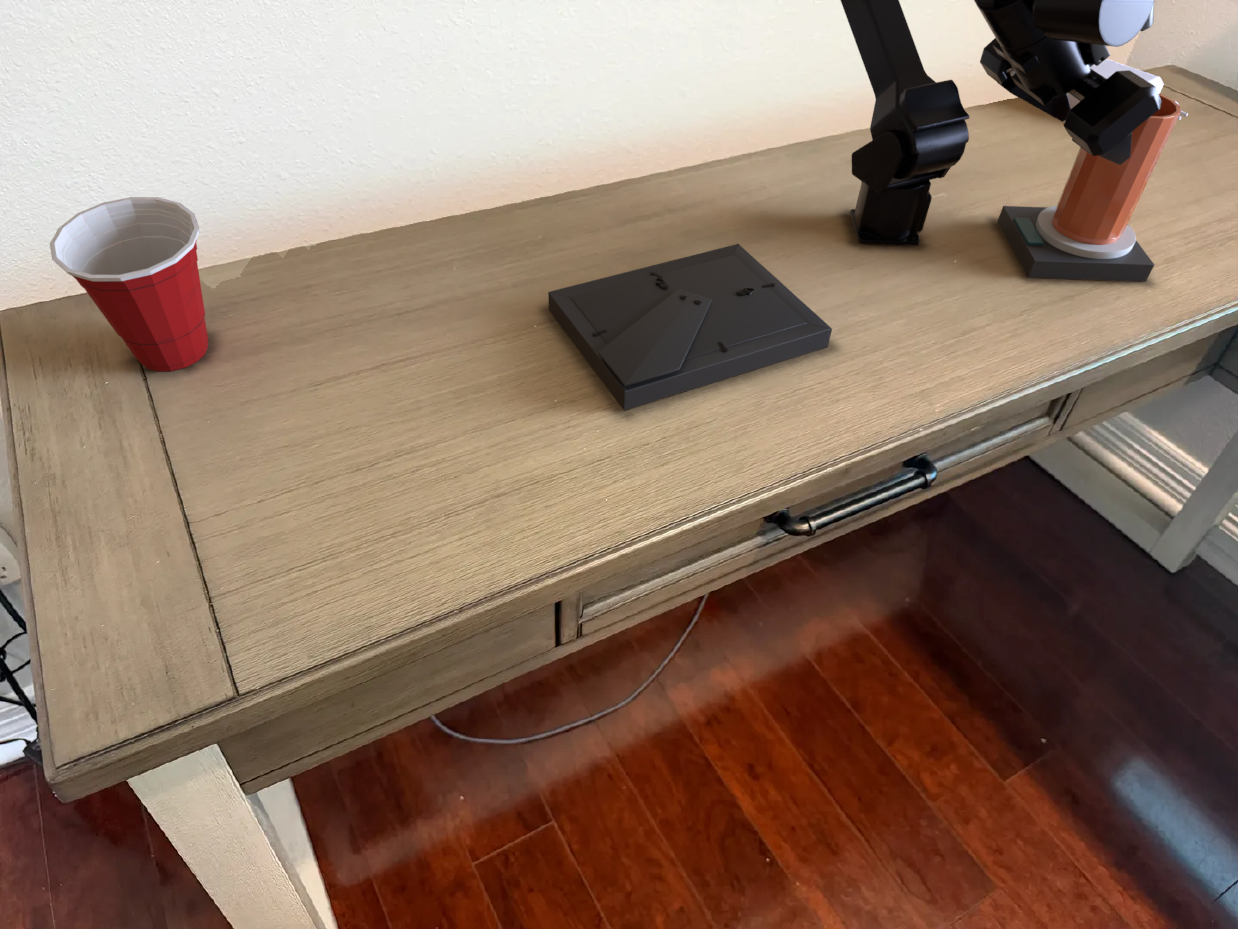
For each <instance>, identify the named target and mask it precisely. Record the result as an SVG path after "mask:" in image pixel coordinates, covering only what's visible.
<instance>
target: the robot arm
mask: <svg viewBox="0 0 1238 929" xmlns="http://www.w3.org/2000/svg"><path fill="white" fill-rule="evenodd" d="M973 1H974V3H975V5H976V7H977V9H978V10H979V13H980V14H981V15H982V17H983V19H984V20H985V22H986V24H987V25H988V27H989V29H990V32H992V34H993V36H994V38H993V39H992V40H991V41H990V42H989V43H988V44H987V45H985V46H984V48H983V49H982V53H981V56H980V60H979V63H980V65H981V66H982V68H983V70H984V72H985V73H986V74H987V76H989V78H991V79H993V80H994V81H995V82H996V83H997V85H999V86H1000V87H1002V88H1003V89H1005V90H1006V91H1007V92H1008V93H1010V94H1011V95H1013V96H1015V97H1017V98H1018V99H1020V100H1022V101H1023V102H1026V103H1027V104H1029V105H1031V106H1033V107H1034V108H1036V109H1038V110H1040V111H1041V112H1043V113H1046V114H1047V115H1049V116H1050V117H1053V118H1054V119H1056V120H1058V121H1059V122H1061V123H1062V122H1064V123H1063V125H1062V126H1063V127H1064V129H1065V131H1066V133H1067V134H1068V135H1069V137H1070V138H1071V141H1072V142H1073V143H1075V144H1076V145H1077V146H1079V147H1080V148H1082V149H1084V150H1085V151H1086V152H1088V153H1089V154H1091V155H1093V156H1100V157H1102V158H1105V159H1107V160H1109V161H1111V162H1114V163H1116V164H1118V165H1121V164H1123V163H1124V162H1125V161H1126V160H1128V159H1129V158H1130V156H1131V142H1132V131H1133V130H1135V129H1136V128H1137V127H1138V126H1140V125H1141V124H1142V123H1143V122H1145V121H1146V120H1147V119H1148V118H1150V117H1151V116H1152V115H1153V114H1155V113H1156V112H1157V111H1158V110H1159V109H1160V107H1161V103H1162V100H1161V98H1160V96H1159V94H1158V91H1157V89H1156V87H1155V86H1154V85H1152V84H1151V83H1149V82H1148V81H1146V80H1144V79H1143V78H1141V77H1140V76H1138V75H1136V74H1135V73H1133V72H1132V71H1130V70H1127V71H1116V72H1115V73H1114V74H1112V75H1111V76H1110V77H1109V78H1108V79H1106V78H1104V77H1103V76H1101V75H1100V74H1098V73H1097V72H1095V71H1094V70H1092V69H1091V68H1090V67H1091V66H1093V65H1096V66H1098V65H1099V64H1101V63H1102V62H1103V61H1104V60H1105V59H1108V58H1109V57H1110V56H1111V53H1110V51H1109V49H1108V47H1115V48H1118V47H1121V46H1122V47H1123V46H1124V45H1126V44H1128V43H1129V42H1131V41H1132V40H1133V39H1134V38H1135V37H1136V36H1137V35H1138V34H1139V33H1140V32H1145V31H1146V30H1148V29H1150V28H1151V27H1153V25H1154V22H1155V20H1154V18H1155V0H973ZM840 3H841V5H842V8H843V11H844V14H845V16H846V19H847V22H848V26H849V28H850V31H851V33H852V36H853V39H854V41H855V44H856V47H857V49H858V52H859V56H860V58H861V61H862V63H863V66H864V69H865V72H866V74H867V78H868V80H869V82H870V86H871V88H872V91H873V94H874V99H875V101H874V107H873V111H872V116H871V121H870V126H869V130H870V136H871V139H872V140H871V141H869V142H867V143H865V144H864V145H862V146H861V147H859V148H858V149H856V150H855V151H853V152H852V153H851V174H852V176H853V177H855V178H857V179H858V180H859V181H860V182H861V183H860V188H859V192H858V196H857V200H856V205H855V208H852V209H850V210H849V213H848V214H849V217H850V221H851V224H852V227H853V230H854V233H855V236H856V239H857V241H858V243H859V244H863V245H888V246H889V245H893V246H919V245H921V241H922V239H921V236H920V235H919V233H921V232H922V231H923V230H924V227H925V223H926V219H927V216H928V213H929V209H930V206H931V203H932V199H933V197H932V194H931V192H930V189H931V187H932V186H931V185H932V182H931V181H933V180H936V179H943V178H945V177H946V175H947V174H948V172H949V171H950V170H951V168H952V167H953V166H955V165H956V164H957V163H959V162H960V160H961V159H962V157H963V155H964V154H965V149H966V146H967V143H969V141H970V136H969V134H970V132H969V128H968V124H967V122H966V120H969V119H970V114H969V113H968V112H967V110H965V107H964V105H963V103H962V101H961V97H960V92H959V88H958V85H957V84H956V83H955V81H954V80H953V79H947V80H941V81H936V80H934V79H933V78H932V77H931V76H929V75H928V74H927V72H926V70H925V68H924V66H923V63H922V60H921V57H920V54H919V51H918V48H917V46H916V43H915V41H914V38H913V35H912V32H911V29H910V27H909V25H908V21H907V20H906V16H905V13H904V10H903V8H902V5H901V2H900V0H840ZM1067 93H1069V94H1071V95H1072V96H1074V97H1075V98H1077V99H1078V100H1079V101H1080V102H1079V103H1078V104H1076V105H1075V106H1074V107H1073V108H1071V106H1070V102H1069V99H1068V96H1067Z"/></svg>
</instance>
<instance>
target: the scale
mask: <svg viewBox="0 0 1238 929" xmlns="http://www.w3.org/2000/svg"><path fill="white" fill-rule="evenodd" d="M1056 206H1057V204H1056V205H1051V206H1049V207H1048V206H1047V207H1045V206H1020V205H1019V206H1017V205H1002V208H1001V211H1000V213H999V216H998V219H997V225H998V227H999V229H1000V231H1001V232H1002V233H1003V236H1004V237H1005V239H1006V241H1007V242H1008V244H1009V246H1010V249H1011V250H1012V251H1013V254H1014V256H1015V257H1016V259H1017V261H1018V263H1019V264H1020V266H1021V268H1022V270H1023V271H1024V273H1025V275H1026V277H1027V278H1028V279H1048V280H1049V279H1051V280H1055V279H1056V280H1083V281H1085V280H1086V281H1113V282H1143V283H1144V282H1145V283H1146V282H1147V280H1148V279H1149V276H1150V274H1151V273H1152V271H1153V269H1154V267H1155V263H1154V262H1153V260H1152V259H1151V258H1150V256H1149V255H1148V254H1147V253H1146V251H1145V250H1144V249H1143V247H1142V246H1141V245H1140V244H1139V242H1138V241H1137V235H1136V232H1135V231H1134V229H1133V228H1132V227H1131V226H1130V224H1129V223H1128V224H1127V226H1126V228H1125V230H1124V232H1123V233H1122V235H1121V237H1120V239H1119V240H1118V241H1116V242H1114V243H1111V244H1105V245H1094V244H1087V243H1082V242H1078V241H1075V240H1073V239H1070V238H1068V237H1066V236H1064V235H1062V234H1061V233H1059V232H1058V231H1057V230H1056V229H1055V228H1054V227H1053V225H1052V217H1053V215H1054V211H1055V209H1056Z"/></svg>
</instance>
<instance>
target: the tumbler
mask: <svg viewBox="0 0 1238 929" xmlns="http://www.w3.org/2000/svg"><path fill="white" fill-rule="evenodd" d="M1158 94H1159V93H1158ZM1159 96H1160V98H1161V100H1162V103H1161V107H1160V109H1159V110H1158V111H1157V112H1156V113H1155V114H1153V115H1152V116H1151V117H1150V118H1148V119H1147V120H1146V121H1145V122H1143V123H1142V124H1141V125H1140V126H1138V127H1137V128H1136V129H1135V130H1133V131H1132V142H1131V156H1130V158H1129V159H1128V160H1126V161H1125V162H1124V163H1123V164H1121V165H1118V164H1116V163H1114V162H1111V161H1109V160H1107V159H1105V158H1102V157H1100V156H1093V155H1091V154H1089V153H1088V152H1086V151H1085V150H1084V149H1082V148H1081V147H1080V148H1079V150H1078V152H1077V155H1076V158H1075V160H1074V162H1073V165H1072V168H1071V170H1070V172H1069V175H1068V176H1067V179H1066V182H1065V184H1064V187H1063V189H1062V191H1061V193H1060V196H1059V199H1058V202H1057V204H1056V205H1057V206H1056V209H1055V211H1054V215H1053V217H1052V225H1053V227H1054V228H1055V229H1056V230H1057V231H1058V232H1059V233H1061V234H1062V235H1064V236H1066V237H1068V238H1070V239H1073V240H1075V241H1078V242H1082V243H1087V244H1094V245H1105V244H1111V243H1114V242H1116V241H1118V240H1119V239H1120V237H1121V235H1122V233H1123V232H1124V230H1125V228H1126V226H1127V224H1128V225H1129V222H1130V221H1131V218H1132V216H1133V213H1134V211H1135V210H1136V208H1137V205H1138V203H1139V201H1140V199H1141V197H1142V194H1143V193H1144V191H1145V189H1146V186H1147V184H1148V182H1149V180H1150V178H1151V176H1152V174H1153V172H1154V169H1155V167H1156V165H1157V163H1158V161H1159V160H1160V157H1161V154H1162V153H1163V151H1164V148H1165V146H1166V144H1167V142H1168V140H1169V138H1170V136H1171V134H1172V132H1173V130H1174V128H1175V125H1176V124H1177V121H1178V120H1177V119H1178V117H1179V116H1181V115H1180V113H1181V111H1182V109H1181V105H1180V104H1179V103H1178V102H1177V101H1176V100H1174V99H1172V98H1170V97H1168V96H1166V95H1164V94H1162V93H1160V94H1159ZM1175 101H1176V102H1177V103H1178V104H1179V105H1178V104H1177V103H1176V102H1175Z"/></svg>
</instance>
